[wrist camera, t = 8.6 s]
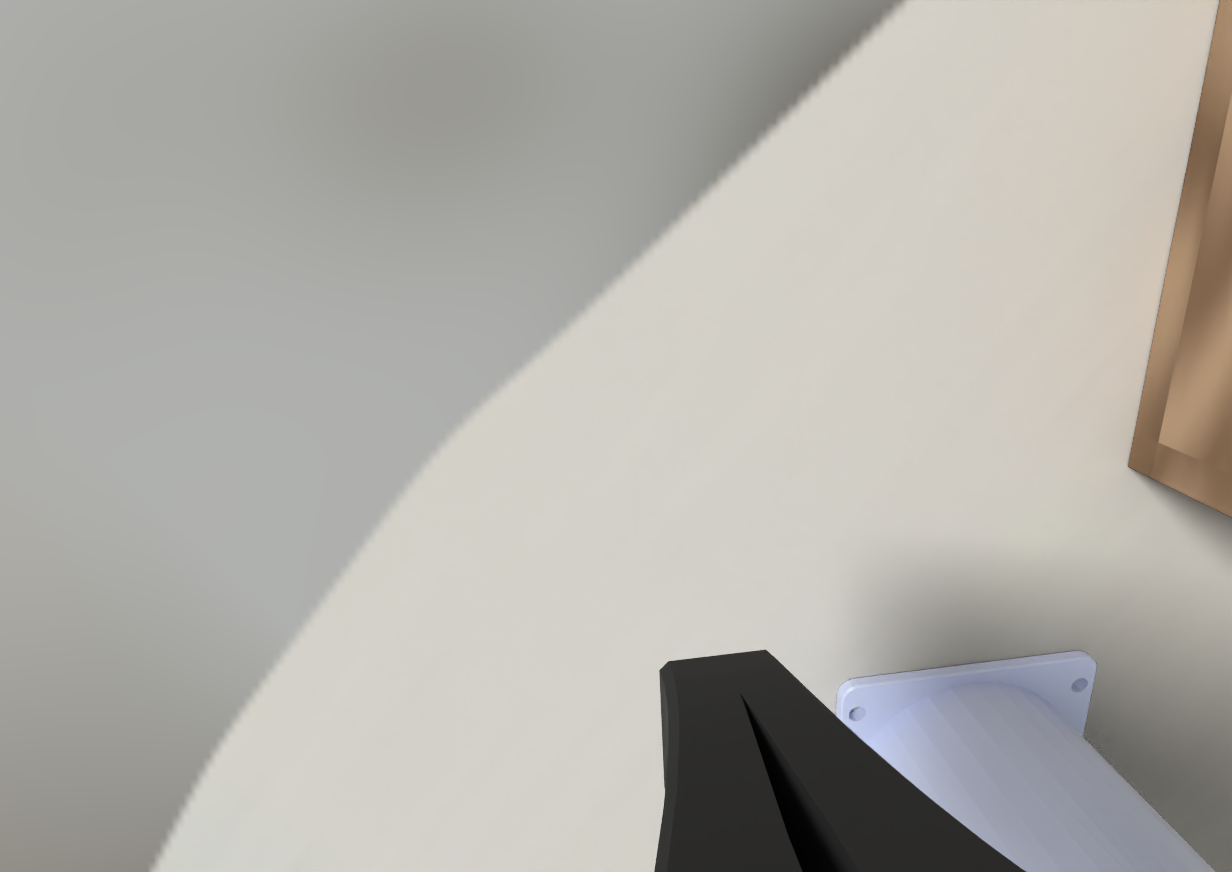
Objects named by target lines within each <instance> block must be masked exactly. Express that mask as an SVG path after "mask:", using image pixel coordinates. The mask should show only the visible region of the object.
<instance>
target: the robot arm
mask: <svg viewBox="0 0 1232 872" xmlns="http://www.w3.org/2000/svg"><path fill="white" fill-rule="evenodd" d="M1096 669H1097V667H1096V662H1095V660H1094V659H1093V658H1092V657H1090V656H1089V655H1088V654H1087V653H1085V652H1083V651H1071V652H1063V653H1055V654H1047V655H1039V656H1031V657H1023V658H1015V659H1007V660H999V661H991V662H983V663H975V664H967V665H959V666H950V667H942V668H934V669H926V670H918V671H910V672H902V673H894V674H886V675H878V676H870V677H862V678H854V679H851V680H848V681H846V682H845V683H843V684H842V685H841V687H840V688H839V690H838V693H837V706H836V715H835V714H833V713H832V712H831V711H830V710H829V709H828V708H827V707H826V706H825V705H824V704H823V703H822V702H821V701H820V700H818V699H817V698H816V697H815V696H814V695H813V694H812V693H811V692H810V691H809V690H808V689H807V688H806V687H805V686H804V685H803V684H802V683H801V682H800V681H799V680H798V679H797V678H795V677H794V676H793V675H792V674H791V673H790V672H789V671H788V670H787V669H786V668H785V667H784V666H783V665H782V664H781V663H780V662H779V661H778V660H777V659H776V658H775V657H774V656H772V655H771V654H770V653H769V652H768V651H767V650H760V651H751V652H743V653H735V654H726V655H718V656H710V657H701V658H693V659H684V660H676V661H668V662H667V663H666V664H665V665H664V666H663V667H662V668H661V669H660V693H661V716H662V739H663V762H664V785H665V800H664V809H663V817H662V824H661V830H660V837H659V844H658V851H657V858H656V865H655V872H1215V871H1214V870H1213V869H1212V868H1211V867H1210V866H1209V865H1208V864H1207V863H1206V862H1205V861H1204V860H1203V859H1202V858H1201V857H1200V856H1199V855H1198V854H1197V853H1196V851H1195V850H1194V849H1193V848H1192V847H1191V846H1190V845H1189V844H1188V843H1187V842H1186V841H1185V840H1184V839H1183V838H1182V837H1181V836H1180V835H1179V834H1178V833H1177V832H1176V831H1175V830H1174V829H1173V828H1172V827H1171V826H1170V825H1169V824H1168V823H1167V822H1166V821H1165V820H1164V819H1163V818H1162V817H1161V816H1160V815H1159V814H1158V813H1157V812H1156V811H1155V810H1154V809H1153V808H1152V807H1151V806H1150V805H1149V804H1148V803H1147V802H1146V801H1145V800H1144V799H1143V798H1142V797H1141V796H1140V795H1139V794H1138V793H1137V792H1136V791H1135V790H1134V789H1133V788H1132V787H1131V786H1130V784H1129V783H1128V782H1127V781H1126V780H1125V779H1124V778H1123V777H1122V776H1121V775H1120V774H1119V773H1118V772H1117V771H1116V770H1115V769H1114V768H1113V767H1112V766H1111V765H1110V764H1109V763H1108V762H1107V761H1106V760H1105V759H1104V758H1103V757H1102V756H1101V755H1100V754H1099V753H1098V752H1097V751H1096V750H1095V749H1094V748H1093V747H1092V746H1091V745H1090V744H1089V743H1088V742H1087V741H1086V740H1085V739H1084V738H1083V733H1084V728H1085V723H1086V718H1087V713H1088V709H1089V704H1090V699H1091V694H1092V689H1093V684H1094V679H1095V674H1096ZM1074 681H1075V682H1074ZM1073 682H1074V683H1073ZM855 707H859V708H858V709H857V710H856V711H853V712H850V711H851V710H852V709H853V708H855Z"/></svg>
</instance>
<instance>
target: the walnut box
mask: <svg viewBox="0 0 1232 872" xmlns="http://www.w3.org/2000/svg"><path fill="white" fill-rule="evenodd" d="M1128 467H1130V468H1132V469H1134V470H1136V471H1138V472H1140V473H1142V474H1144V475H1147V476H1149V477H1151V478H1153V479H1155V480H1157V481H1159V482H1161V483H1163V484H1165V485H1167V486H1169V487H1171V488H1173V489H1175V490H1177V491H1179V492H1181V493H1183V494H1185V495H1187V496H1190V497H1192V498H1194V499H1196V500H1198V501H1200V502H1202V503H1204V504H1206V505H1208V506H1210V507H1212V508H1214V509H1216V510H1218V511H1220V512H1222V513H1224V514H1226V515H1228V516H1230V517H1232V0H1220V3H1219V8H1218V13H1217V18H1216V23H1215V28H1214V33H1213V38H1212V43H1211V48H1210V53H1209V58H1208V63H1207V68H1206V73H1205V79H1204V84H1203V89H1202V94H1201V99H1200V104H1199V109H1198V114H1197V119H1196V124H1195V129H1194V134H1193V139H1192V144H1191V149H1190V155H1189V160H1188V165H1187V170H1186V175H1185V180H1184V185H1183V190H1182V195H1181V200H1180V205H1179V210H1178V215H1177V220H1176V225H1175V230H1174V236H1173V241H1172V246H1171V251H1170V256H1169V261H1168V266H1167V271H1166V276H1165V281H1164V286H1163V291H1162V296H1161V301H1160V306H1159V312H1158V317H1157V322H1156V327H1155V332H1154V337H1153V342H1152V347H1151V352H1150V357H1149V362H1148V367H1147V372H1146V377H1145V382H1144V388H1143V393H1142V398H1141V403H1140V408H1139V413H1138V418H1137V423H1136V428H1135V433H1134V438H1133V443H1132V448H1131V453H1130V458H1129V464H1128Z"/></svg>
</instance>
